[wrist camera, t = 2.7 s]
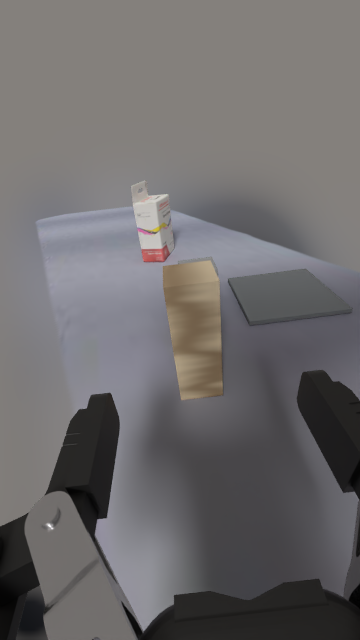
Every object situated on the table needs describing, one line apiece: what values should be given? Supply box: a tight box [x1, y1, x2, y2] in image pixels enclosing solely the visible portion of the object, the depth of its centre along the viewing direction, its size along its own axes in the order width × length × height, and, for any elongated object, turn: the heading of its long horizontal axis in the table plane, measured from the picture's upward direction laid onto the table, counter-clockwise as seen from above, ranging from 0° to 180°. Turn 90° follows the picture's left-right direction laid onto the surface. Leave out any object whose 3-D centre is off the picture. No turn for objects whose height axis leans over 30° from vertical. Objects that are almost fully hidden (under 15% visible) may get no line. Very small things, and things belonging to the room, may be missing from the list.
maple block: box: [163, 260, 223, 400], centre depth 24 cm, size 4×4×12 cm
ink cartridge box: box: [131, 180, 174, 262], centre depth 56 cm, size 9×5×15 cm, turn 166°
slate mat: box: [228, 269, 352, 325], centre depth 39 cm, size 13×13×1 cm
